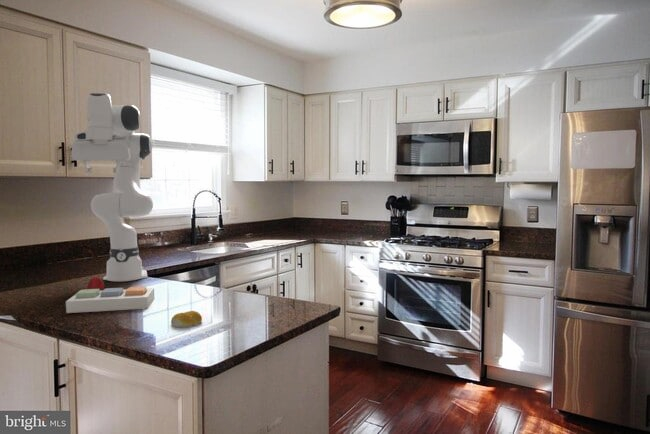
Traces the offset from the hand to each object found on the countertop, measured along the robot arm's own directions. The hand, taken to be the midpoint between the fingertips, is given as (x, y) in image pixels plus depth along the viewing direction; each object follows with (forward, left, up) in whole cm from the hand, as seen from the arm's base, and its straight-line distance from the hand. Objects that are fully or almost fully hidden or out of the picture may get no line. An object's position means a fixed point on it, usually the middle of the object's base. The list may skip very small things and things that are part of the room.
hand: (102, 172), depth 178 cm
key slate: (+17, +6, -45) cm, 48 cm away
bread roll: (+45, +34, -48) cm, 74 cm away
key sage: (+17, -2, -45) cm, 48 cm away
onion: (0, -4, -48) cm, 48 cm away
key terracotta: (+17, +14, -45) cm, 50 cm away
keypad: (+17, +6, -48) cm, 51 cm away
